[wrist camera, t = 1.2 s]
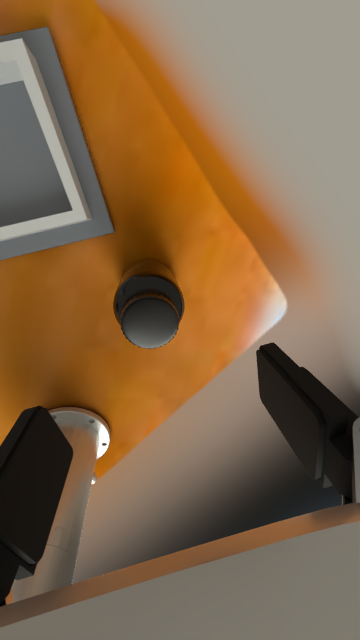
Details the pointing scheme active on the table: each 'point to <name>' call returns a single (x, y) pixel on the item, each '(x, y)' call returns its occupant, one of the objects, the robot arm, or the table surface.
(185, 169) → the table surface
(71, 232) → the rimmed tray
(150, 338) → the supplement bottle
